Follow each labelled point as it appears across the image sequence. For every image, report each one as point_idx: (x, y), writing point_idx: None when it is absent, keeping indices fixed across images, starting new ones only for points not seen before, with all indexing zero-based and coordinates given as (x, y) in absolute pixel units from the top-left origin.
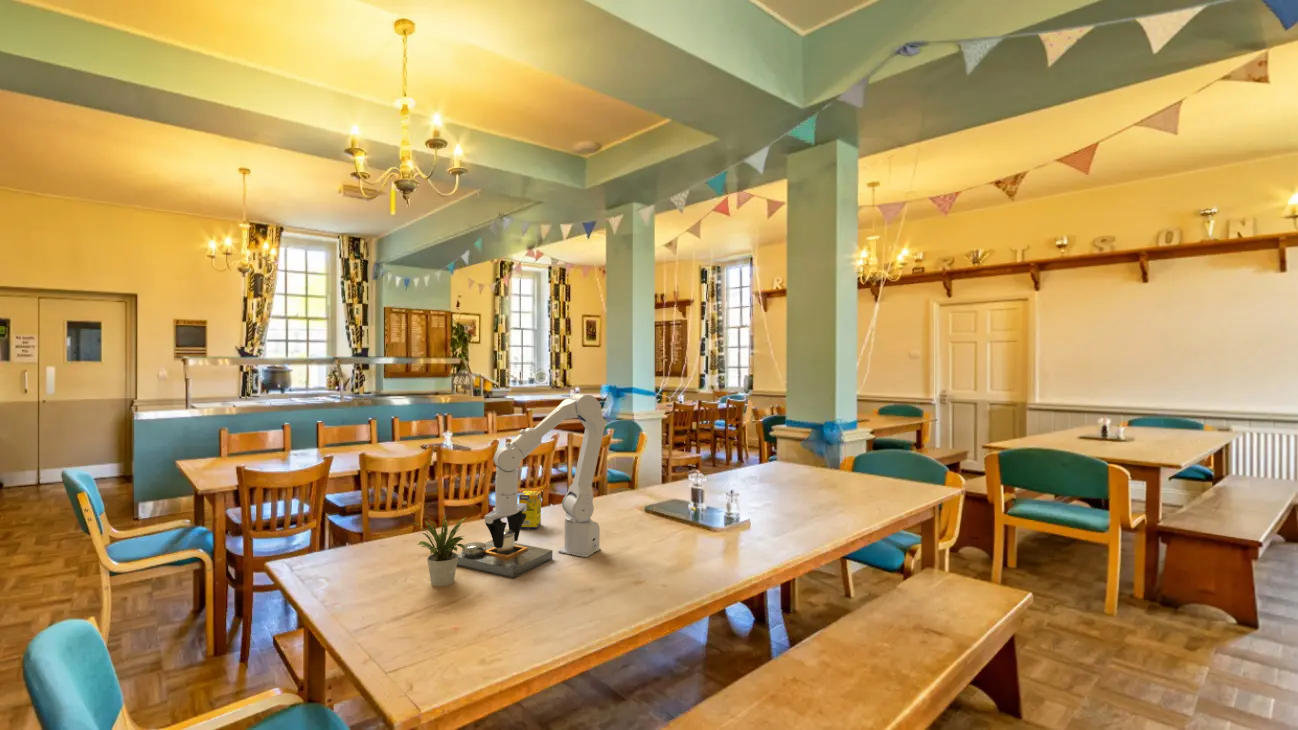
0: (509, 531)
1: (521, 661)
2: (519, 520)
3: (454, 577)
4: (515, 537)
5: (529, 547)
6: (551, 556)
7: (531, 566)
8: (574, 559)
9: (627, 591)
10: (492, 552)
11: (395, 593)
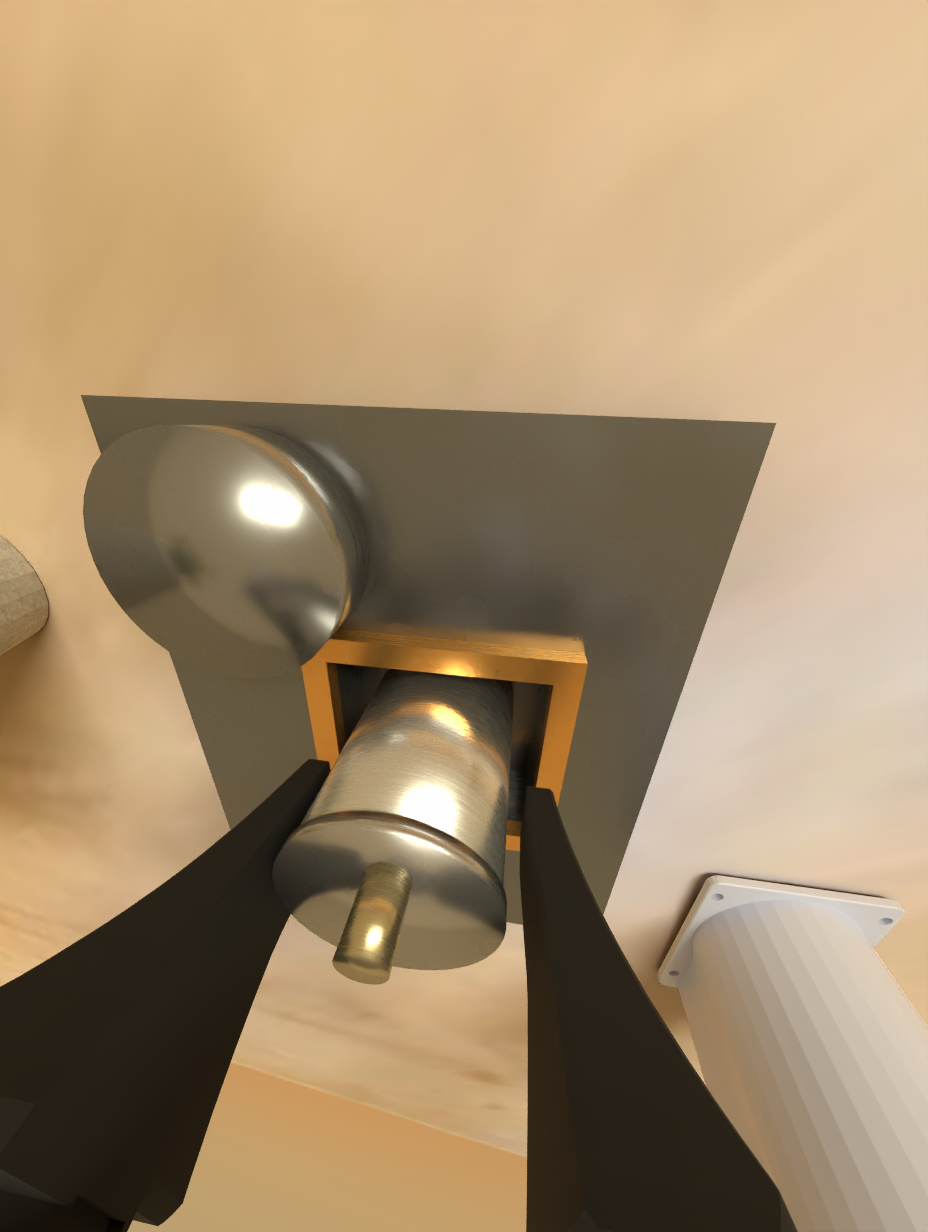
0: (446, 930)
1: (11, 980)
2: (530, 1185)
3: (21, 640)
4: (521, 867)
5: (598, 829)
6: None
7: None
8: (620, 943)
9: (411, 1064)
10: (327, 707)
11: None
